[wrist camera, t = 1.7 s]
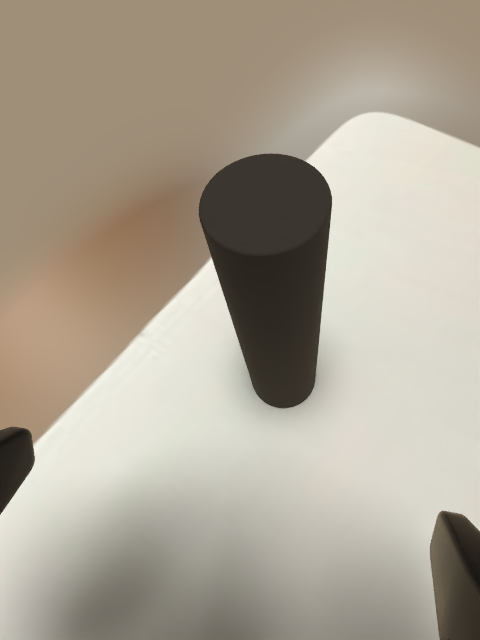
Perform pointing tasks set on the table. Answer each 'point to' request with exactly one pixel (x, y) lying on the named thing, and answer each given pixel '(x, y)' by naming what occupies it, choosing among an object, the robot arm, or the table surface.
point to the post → (271, 266)
